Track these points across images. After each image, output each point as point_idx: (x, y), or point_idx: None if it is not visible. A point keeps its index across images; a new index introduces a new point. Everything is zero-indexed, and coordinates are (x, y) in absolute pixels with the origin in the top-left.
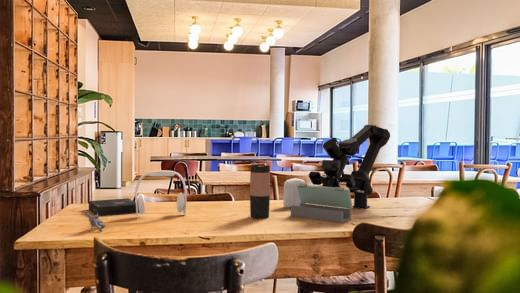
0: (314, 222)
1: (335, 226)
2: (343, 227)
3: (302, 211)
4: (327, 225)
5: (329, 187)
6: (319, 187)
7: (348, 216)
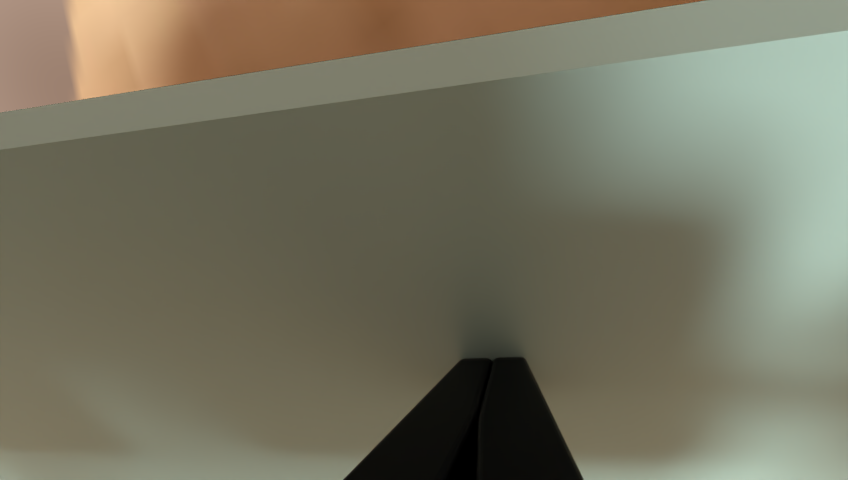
0: (443, 14)
1: (197, 22)
2: (127, 40)
3: None
4: (273, 2)
5: (105, 117)
6: (511, 43)
7: None
